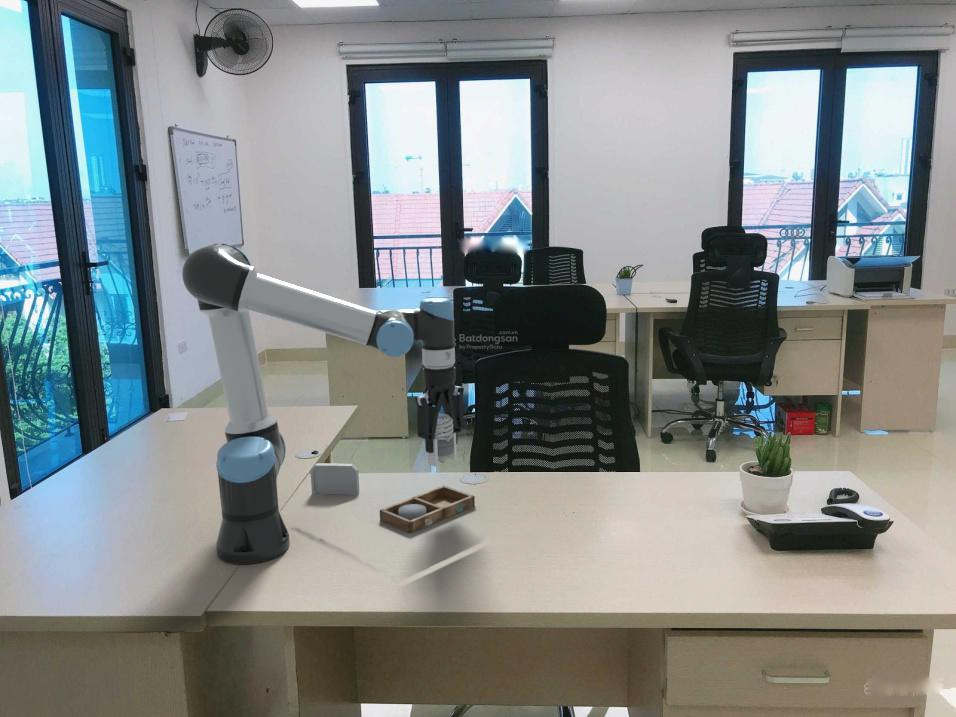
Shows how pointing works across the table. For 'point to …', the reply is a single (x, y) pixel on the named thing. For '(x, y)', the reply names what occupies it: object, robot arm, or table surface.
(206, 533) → the table surface
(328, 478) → the grey plastic panel
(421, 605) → the table surface
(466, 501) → the organizer
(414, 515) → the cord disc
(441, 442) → the light bulb
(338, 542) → the table surface
